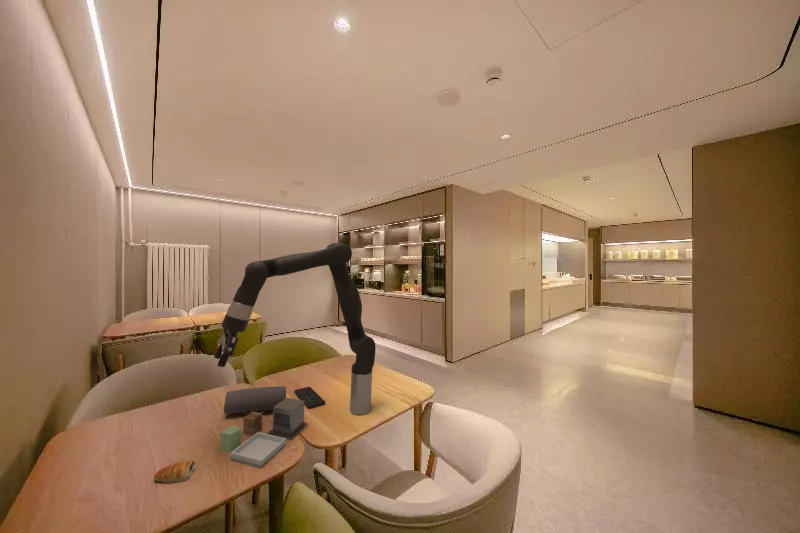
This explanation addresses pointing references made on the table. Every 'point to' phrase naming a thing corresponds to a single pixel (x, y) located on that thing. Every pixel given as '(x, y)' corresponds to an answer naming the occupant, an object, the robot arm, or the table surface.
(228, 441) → the green block
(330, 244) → the robot arm
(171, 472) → the pastry
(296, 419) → the housing
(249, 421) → the walnut block
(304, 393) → the smart home device
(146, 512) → the table surface
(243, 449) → the tray
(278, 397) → the bluetooth speaker
